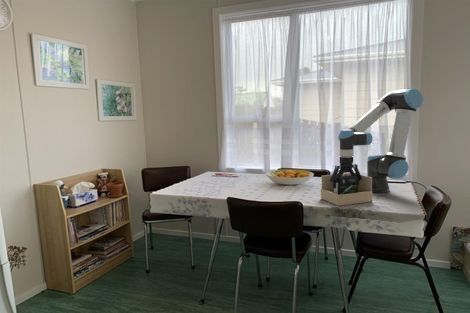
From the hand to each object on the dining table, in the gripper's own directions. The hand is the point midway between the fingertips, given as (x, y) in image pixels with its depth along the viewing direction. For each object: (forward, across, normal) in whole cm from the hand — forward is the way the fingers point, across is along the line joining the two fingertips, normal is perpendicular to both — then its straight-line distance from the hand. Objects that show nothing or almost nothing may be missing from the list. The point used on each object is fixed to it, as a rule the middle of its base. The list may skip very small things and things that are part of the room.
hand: (345, 192), depth 194 cm
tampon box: (+5, 0, 0) cm, 5 cm away
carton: (+4, 0, 0) cm, 5 cm away
